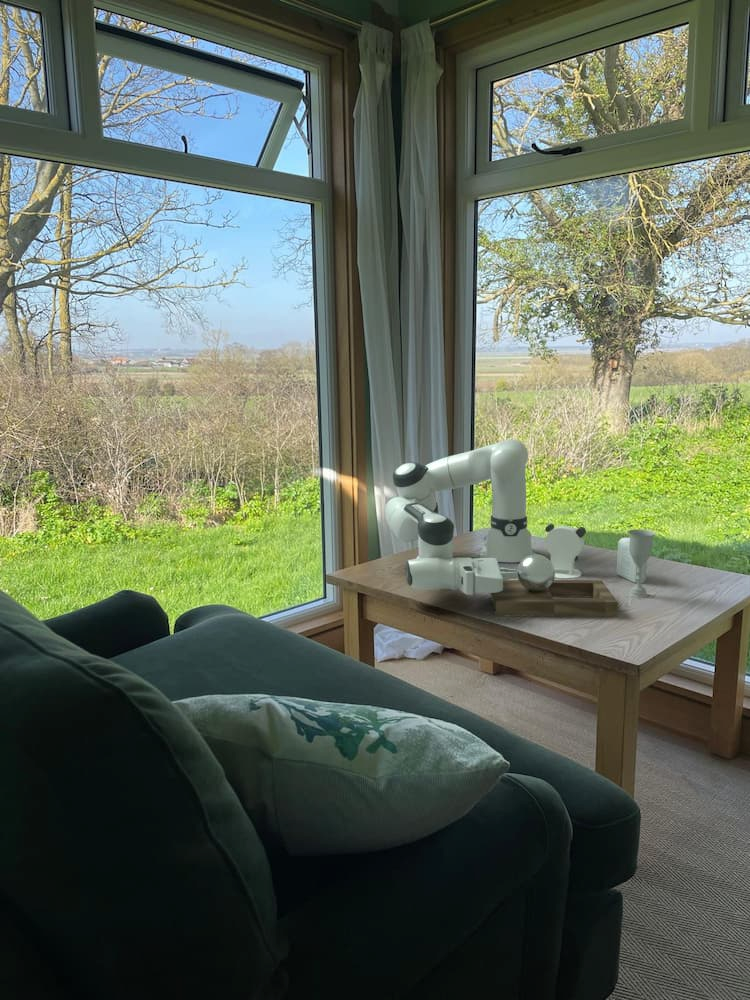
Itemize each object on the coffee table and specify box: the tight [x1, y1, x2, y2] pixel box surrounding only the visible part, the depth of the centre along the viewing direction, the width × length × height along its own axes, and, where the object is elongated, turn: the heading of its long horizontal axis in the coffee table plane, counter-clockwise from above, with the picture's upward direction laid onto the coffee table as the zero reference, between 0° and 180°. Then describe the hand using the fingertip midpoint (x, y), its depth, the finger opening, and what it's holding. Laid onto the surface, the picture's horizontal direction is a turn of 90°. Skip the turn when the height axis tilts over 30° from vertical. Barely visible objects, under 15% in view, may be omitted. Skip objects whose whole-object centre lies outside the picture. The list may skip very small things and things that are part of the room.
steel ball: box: [516, 553, 556, 592], centre depth 193 cm, size 10×10×10 cm
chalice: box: [627, 529, 656, 599], centre depth 199 cm, size 7×7×18 cm
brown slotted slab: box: [489, 579, 619, 617], centre depth 194 cm, size 18×31×4 cm, turn 86°
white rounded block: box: [616, 537, 648, 584], centre depth 214 cm, size 10×4×12 cm, turn 17°
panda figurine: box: [544, 523, 587, 580], centre depth 220 cm, size 12×11×15 cm
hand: (517, 574), depth 192 cm, fingers closed
